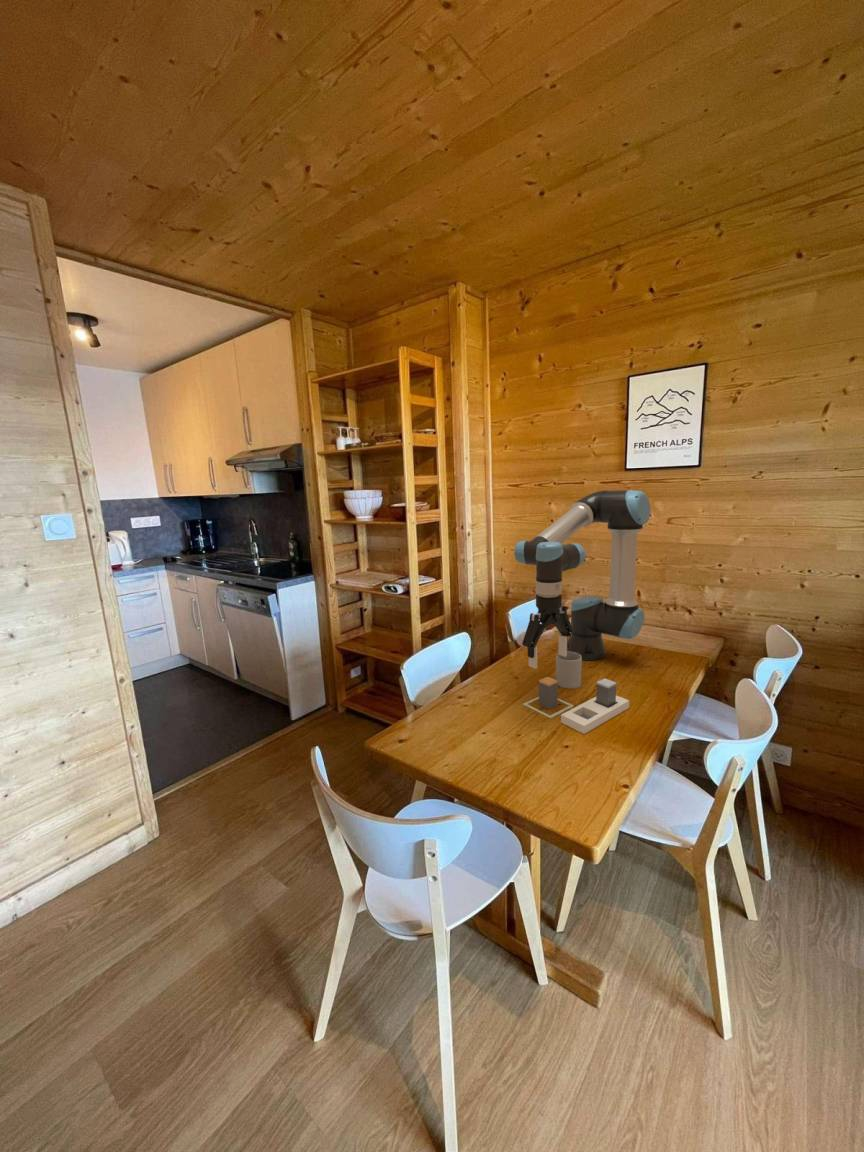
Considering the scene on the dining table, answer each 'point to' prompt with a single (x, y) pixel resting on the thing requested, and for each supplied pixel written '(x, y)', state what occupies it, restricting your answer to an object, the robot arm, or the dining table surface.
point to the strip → (592, 714)
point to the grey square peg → (606, 693)
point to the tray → (545, 713)
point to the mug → (569, 670)
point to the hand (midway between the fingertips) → (548, 661)
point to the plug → (548, 693)
